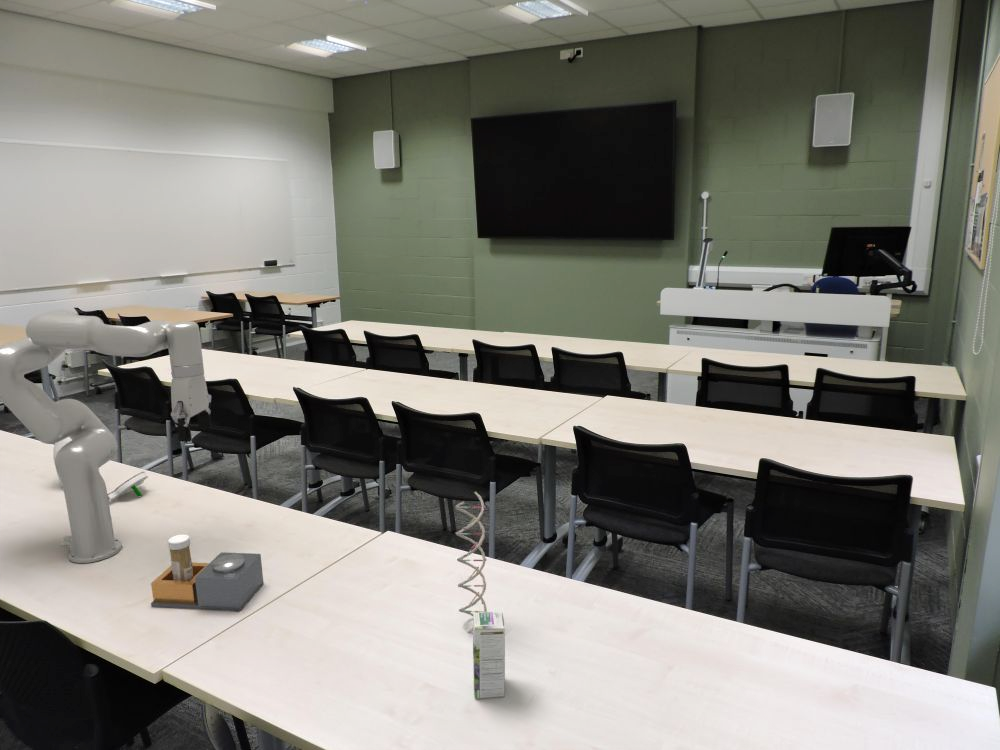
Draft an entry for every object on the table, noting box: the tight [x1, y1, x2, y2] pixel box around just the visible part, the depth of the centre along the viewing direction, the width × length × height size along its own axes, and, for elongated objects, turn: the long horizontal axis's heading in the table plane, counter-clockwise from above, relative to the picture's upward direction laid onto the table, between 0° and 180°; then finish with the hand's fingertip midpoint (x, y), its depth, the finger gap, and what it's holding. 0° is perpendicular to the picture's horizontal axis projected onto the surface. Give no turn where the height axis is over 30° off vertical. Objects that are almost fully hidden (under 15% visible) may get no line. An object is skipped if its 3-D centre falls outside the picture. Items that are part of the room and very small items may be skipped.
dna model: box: [454, 491, 488, 634], centre depth 148 cm, size 7×6×30 cm
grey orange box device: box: [150, 551, 265, 612], centre depth 165 cm, size 22×15×9 cm
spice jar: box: [167, 534, 193, 581], centre depth 164 cm, size 5×5×13 cm
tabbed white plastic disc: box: [107, 471, 149, 502], centre depth 223 cm, size 15×8×11 cm
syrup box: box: [472, 611, 506, 700], centre depth 130 cm, size 6×6×14 cm
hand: (195, 435), depth 180 cm, fingers open, 9 cm apart
